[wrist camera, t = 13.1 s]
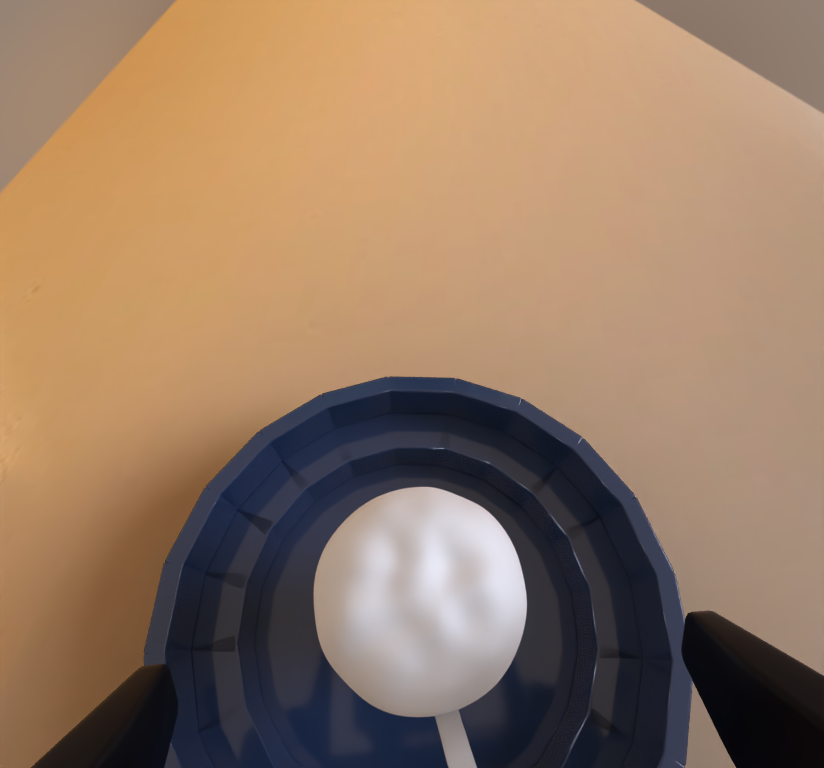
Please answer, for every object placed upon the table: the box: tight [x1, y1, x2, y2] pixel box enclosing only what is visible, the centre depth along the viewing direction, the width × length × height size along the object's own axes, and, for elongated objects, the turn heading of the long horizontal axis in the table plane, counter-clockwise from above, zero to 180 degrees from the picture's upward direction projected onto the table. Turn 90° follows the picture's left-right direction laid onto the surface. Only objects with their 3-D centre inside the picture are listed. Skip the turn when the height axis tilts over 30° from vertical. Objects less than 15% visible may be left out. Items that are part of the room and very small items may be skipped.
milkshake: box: [314, 487, 527, 768], centre depth 13 cm, size 4×5×10 cm
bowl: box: [144, 377, 693, 768], centre depth 17 cm, size 15×15×4 cm
